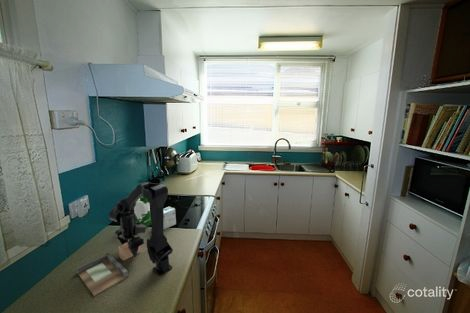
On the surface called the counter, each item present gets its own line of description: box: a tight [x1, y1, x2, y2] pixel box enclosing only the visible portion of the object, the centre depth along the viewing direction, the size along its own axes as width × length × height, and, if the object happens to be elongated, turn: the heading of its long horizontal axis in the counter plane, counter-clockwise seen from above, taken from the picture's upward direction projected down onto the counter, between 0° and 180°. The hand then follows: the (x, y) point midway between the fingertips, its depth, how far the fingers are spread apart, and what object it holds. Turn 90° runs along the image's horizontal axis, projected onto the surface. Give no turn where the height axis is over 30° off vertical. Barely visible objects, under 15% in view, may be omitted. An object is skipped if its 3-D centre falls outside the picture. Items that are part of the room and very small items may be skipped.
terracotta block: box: [117, 241, 142, 262], centre depth 106 cm, size 4×9×6 cm, turn 142°
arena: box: [76, 252, 129, 297], centre depth 92 cm, size 20×13×3 cm, turn 52°
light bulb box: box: [164, 206, 177, 230], centre depth 133 cm, size 11×7×11 cm, turn 141°
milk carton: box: [133, 196, 152, 228], centre depth 133 cm, size 9×9×20 cm
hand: (130, 252), depth 106 cm, fingers open, 9 cm apart
